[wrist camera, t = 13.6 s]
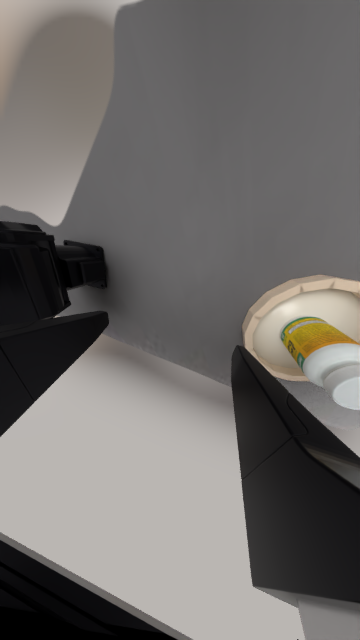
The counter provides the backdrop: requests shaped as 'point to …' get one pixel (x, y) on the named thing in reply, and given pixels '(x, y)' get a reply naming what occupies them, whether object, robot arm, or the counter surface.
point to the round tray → (293, 301)
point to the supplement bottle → (325, 357)
